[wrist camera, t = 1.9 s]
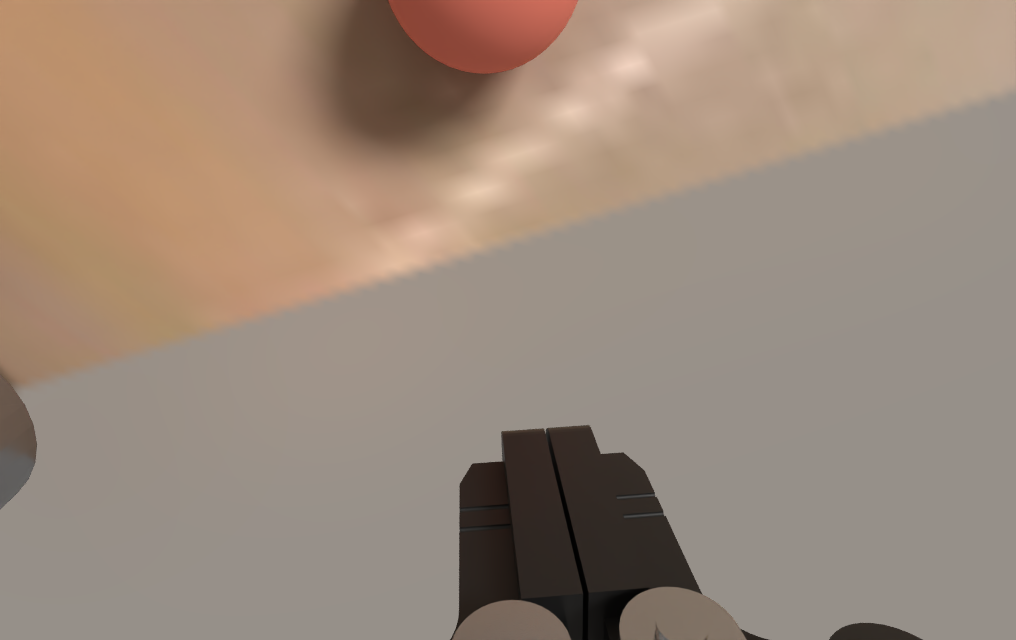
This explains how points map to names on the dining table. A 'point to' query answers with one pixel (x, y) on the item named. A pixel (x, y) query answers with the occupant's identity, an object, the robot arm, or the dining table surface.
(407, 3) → the ball
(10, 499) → the robot arm
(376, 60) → the dining table surface
